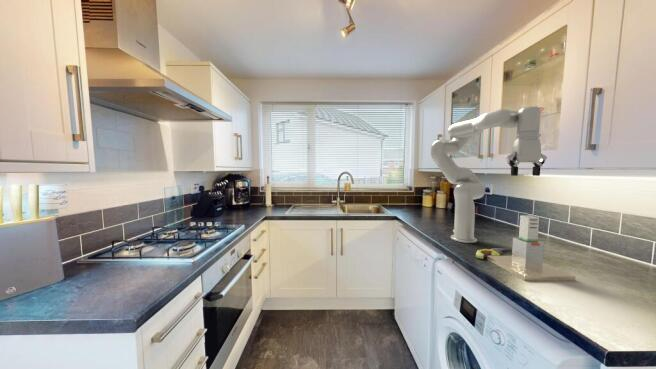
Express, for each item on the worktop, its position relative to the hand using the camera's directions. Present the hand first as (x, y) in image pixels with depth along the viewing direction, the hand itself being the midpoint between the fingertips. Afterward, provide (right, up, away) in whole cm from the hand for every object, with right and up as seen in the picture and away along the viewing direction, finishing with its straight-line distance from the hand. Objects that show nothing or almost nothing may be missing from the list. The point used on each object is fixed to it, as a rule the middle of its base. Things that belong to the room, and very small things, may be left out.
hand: (525, 175), depth 106 cm
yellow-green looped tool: (-11, -37, +4) cm, 38 cm away
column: (-9, -31, -12) cm, 34 cm away
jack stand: (-9, -37, -11) cm, 40 cm away
